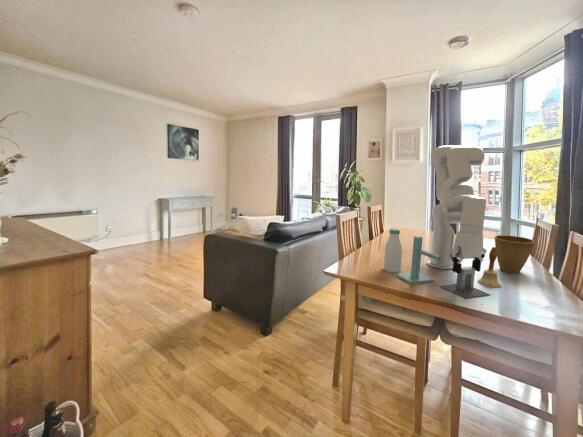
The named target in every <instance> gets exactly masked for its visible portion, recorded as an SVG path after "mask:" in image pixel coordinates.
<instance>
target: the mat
mask: <svg viewBox="0 0 583 437" xmlns="http://www.w3.org/2000/svg"><path fill="white" fill-rule="evenodd" d="M439 287H440V288H442V289H444V290H447V291H448V292H450V293H453V294H454V295H456V296H459V297H461V298H463V299H464V300H465V299H466V300H467V299H475V298H481V297H488V296H491V294H490V293H488V292H486V291H484V290H481V289H478V288H477V287H475V286H473V290H471V291H470V290H467V289H465V288H464V292H460V291H458V290H456V283H449V284H442V285H439Z"/></svg>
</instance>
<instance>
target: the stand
mask: <svg viewBox="0 0 583 437" xmlns="http://www.w3.org/2000/svg"><path fill="white" fill-rule="evenodd" d="M412 242H413V244H412V245H413V246H412V254H411V256H412V257H411V266H410V267H411V269H410V270H411V271H410V272H403V273H400V272H399V273H395V277H397V278H399V279H401V280H402V281H405V282H406V283H408V284H410V285H417V284H426V283H434V282H435V280H436V279H435V278H433V277H430V276H428V275H426V274H425V273H422V272H420V269H421V261H422V260H421V259H422V255H423V256H424V257H428V258H430V259H431V258H433V259H436V260H440V256H438V255H435V254H432V253H431V252H430V251H426V250H423V249H422V248H423V237H422V236H419V235H417V236H413V241H412Z"/></svg>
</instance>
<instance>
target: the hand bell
mask: <svg viewBox="0 0 583 437" xmlns="http://www.w3.org/2000/svg"><path fill="white" fill-rule="evenodd" d="M488 254H489V256H488V258H489V264H488V269H485V270H484V271H483V274H482V276H481V277H480V278H479V279H478V280H477V283H478V284H480V285H482V286H485V287H490V288H502V284H501V282H499V280H498V279H499V278H498V273H497V271H495V270H494V267H495V262H496V260H497V251H496V247H495V246H492V248H491V249H490V251H489V253H488Z"/></svg>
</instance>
